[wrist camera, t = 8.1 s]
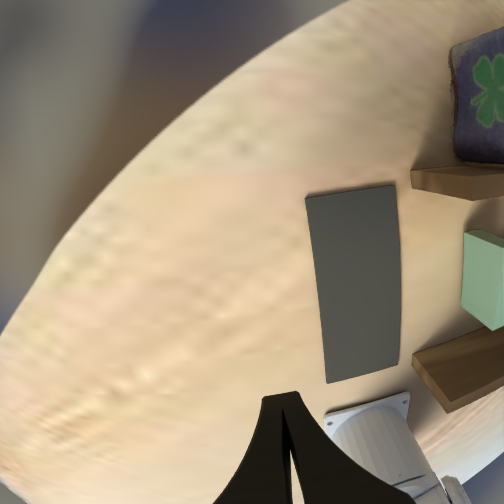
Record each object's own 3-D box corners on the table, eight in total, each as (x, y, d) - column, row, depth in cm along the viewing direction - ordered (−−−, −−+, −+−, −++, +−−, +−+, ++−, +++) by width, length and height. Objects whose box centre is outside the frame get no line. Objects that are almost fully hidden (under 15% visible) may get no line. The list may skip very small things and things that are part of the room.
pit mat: (396, 362, 22) (397, 364, 22) (326, 381, 23) (327, 383, 22) (392, 184, 19) (394, 185, 18) (304, 198, 19) (305, 199, 19)
